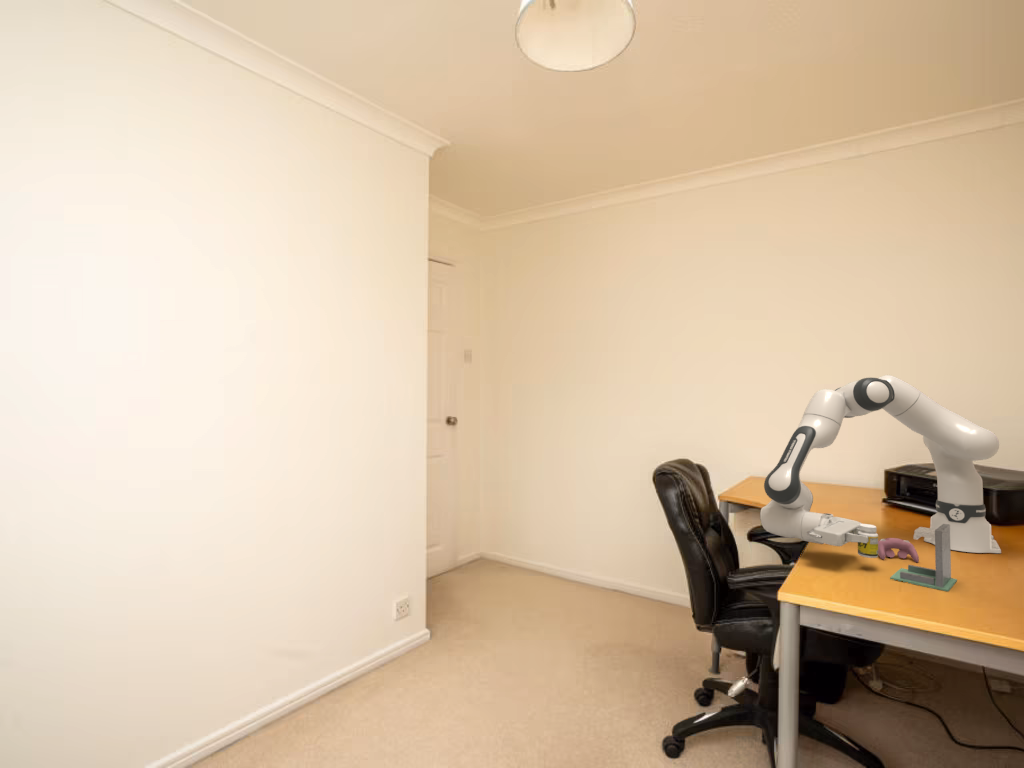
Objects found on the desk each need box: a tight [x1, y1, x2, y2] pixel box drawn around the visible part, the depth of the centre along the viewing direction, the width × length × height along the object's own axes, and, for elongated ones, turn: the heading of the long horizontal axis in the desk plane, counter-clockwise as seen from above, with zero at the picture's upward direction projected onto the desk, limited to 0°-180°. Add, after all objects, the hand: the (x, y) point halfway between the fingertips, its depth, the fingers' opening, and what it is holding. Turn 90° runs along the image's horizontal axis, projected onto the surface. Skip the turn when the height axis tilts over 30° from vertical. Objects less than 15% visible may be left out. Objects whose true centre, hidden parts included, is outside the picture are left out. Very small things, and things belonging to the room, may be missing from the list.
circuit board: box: [889, 567, 958, 592], centre depth 140 cm, size 11×12×1 cm
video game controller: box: [878, 537, 920, 563], centre depth 158 cm, size 10×5×7 cm, turn 72°
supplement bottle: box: [857, 523, 879, 559], centre depth 149 cm, size 5×5×8 cm
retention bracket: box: [900, 524, 952, 588], centre depth 139 cm, size 10×9×14 cm
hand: (871, 537), depth 148 cm, fingers closed on supplement bottle, 5 cm apart
